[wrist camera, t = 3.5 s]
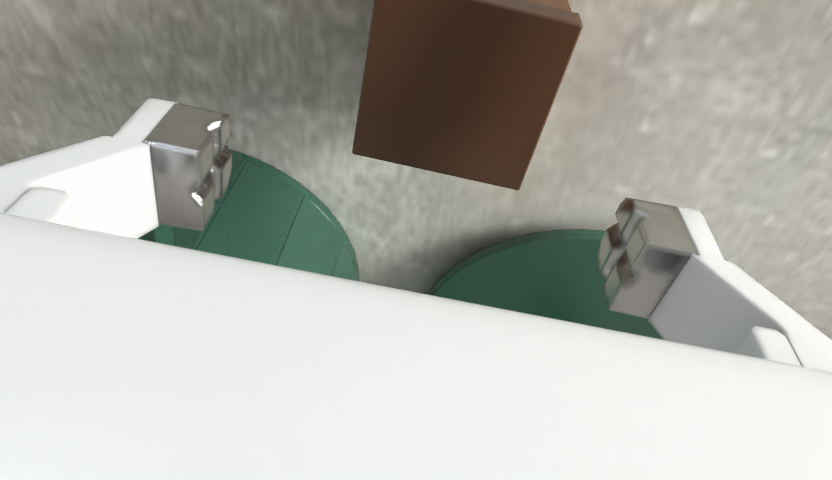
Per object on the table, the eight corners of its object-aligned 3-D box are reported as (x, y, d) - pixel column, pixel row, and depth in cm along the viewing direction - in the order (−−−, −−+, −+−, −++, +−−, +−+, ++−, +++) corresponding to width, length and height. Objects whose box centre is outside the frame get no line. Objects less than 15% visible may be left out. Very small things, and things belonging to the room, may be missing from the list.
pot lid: (785, 259, 23) (851, 376, 19) (637, 436, 32) (659, 542, 28) (454, 186, 23) (445, 290, 18) (394, 387, 32) (379, 489, 27)
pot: (390, 121, 21) (346, 287, 15) (337, 400, 33) (300, 561, 26) (36, 41, 20) (-173, 180, 14) (110, 355, 32) (15, 509, 26)
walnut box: (563, -38, 17) (583, 25, 13) (514, 106, 20) (519, 191, 17) (403, -77, 17) (378, -24, 13) (378, 75, 20) (351, 154, 16)
